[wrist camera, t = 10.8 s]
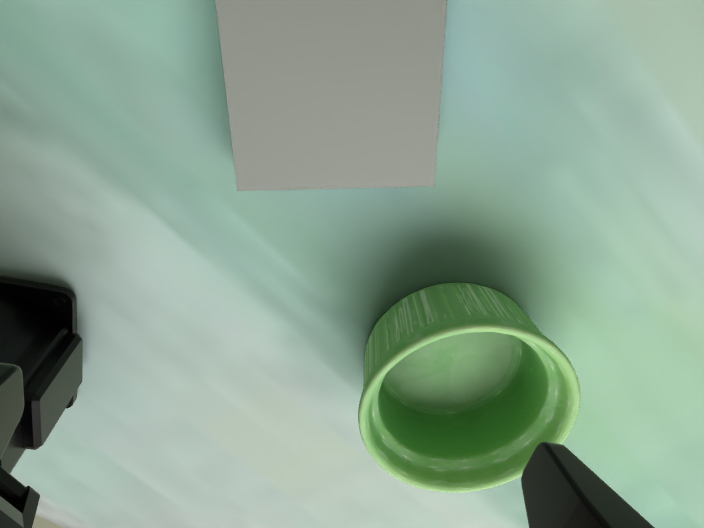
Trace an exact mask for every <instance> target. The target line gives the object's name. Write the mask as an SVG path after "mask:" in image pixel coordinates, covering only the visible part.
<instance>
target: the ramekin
mask: <svg viewBox="0 0 704 528" xmlns="http://www.w3.org/2000/svg"><path fill="white" fill-rule="evenodd" d="M579 406H580V387H579V382H578V378H577V376H576V373H575V370H574V368H573V366H572V364H571V363H570V361H569V360H568V358H567V357H566V356H565V354H564V353H563V352H562V351H561V350H560V349H559V348H558V347H557V346H556V345H555V344H554V343H553V342H552V341H551V340H549V339H548V338H547V337H545V336H544V335H542V333H541V332H540V331H539V330H538V328H537V327H536V326H535V325H534V323H533V322H532V321H531V320H530V318H529V317H528V316H527V315H526V314H525V312H524V311H523V310H522V309H521V308H520V307H519V306H518V305H517V304H516V303H515V302H514V301H512V300H511V299H510V298H509V297H507V296H506V295H504V294H502V293H501V292H499V291H496V290H494V289H491V288H489V287H485V286H481V285H476V284H472V283H445V284H438V285H433V286H429V287H426V288H423V289H421V290H418V291H416V292H414V293H412V294H409V295H408V296H406V297H404V298H402V299H401V300H400V301H398V302H397V303H396V304H395V305H393V306H392V307H391V308H390V309H389V310H388V311H387V312H386V313H385V314H384V315H383V316H382V317H381V318H380V319H379V321H378V322H377V323H376V325H375V326H374V328H373V330H372V332H371V334H370V337H369V339H368V342H367V346H366V350H365V356H364V389H363V392H362V395H361V399H360V404H359V411H358V422H359V429H360V434H361V437H362V440H363V442H364V445H365V447H366V449H367V450H368V452H369V453H370V455H371V456H372V457H373V459H374V460H375V461H376V462H377V463H378V464H379V465H380V466H381V467H382V468H383V469H384V470H385V471H386V472H387V473H389V474H391V475H392V476H394V477H395V478H397V479H399V480H401V481H403V482H405V483H407V484H410V485H412V486H415V487H419V488H422V489H427V490H432V491H439V492H470V491H477V490H483V489H487V488H491V487H495V486H498V485H501V484H504V483H507V482H509V481H512V480H514V479H516V478H518V477H520V476H522V473H523V470H524V468H525V466H526V464H527V463H528V461H529V459H530V457H531V455H532V453H533V452H534V450H535V448H536V446H537V445H538V444H539V443H541V442H551V443H558V444H562V443H563V442H564V440H565V439H566V437H567V436H568V434H569V433H570V431H571V429H572V426H573V425H574V423H575V420H576V418H577V414H578V410H579Z"/></svg>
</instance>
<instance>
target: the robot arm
mask: <svg viewBox="0 0 704 528" xmlns="http://www.w3.org/2000/svg"><path fill="white" fill-rule="evenodd" d="M58 297H62V298H64V299H65V300H66V302H63V301H61V300H60V299H59V298H58ZM81 382H82V338H81V337H80V335H79V334H77V306H76V295H75V294H74V292H73V291H71V290H70V289H68V288H65V287H61V286H55V285H49V284H43V283H37V282H31V281H25V280H19V279H13V278H7V277H1V276H0V528H32V525H33V521H34V517H35V513H36V510H37V506H38V502H39V498H40V495H39V494H38V493H37V492H36V491H35V490H33V489H32V488H31V487H30V486H27V487H25V486H24V485H23V484H22V483H20V482H19V481H18V480H17V479H15V478H14V477H13V476H12V475H11V474H10V473H11V471H12V470H13V468H14V467H15V465H16V463H17V462H18V460H19V459H20V457H21V456H22V454H23V453H24V451H25V450H26V449H33V450H36V449H38V448H39V447H40V446H42V445H43V444H44V442H45V441H46V439H47V437H48V436H49V434H50V433H51V431H52V429H53V428H54V426H55V424H56V423H57V421H58V420H59V418H60V416H61V415H62V413H63V411H64V410H65V408H69V407H71V406H72V405H73V403H74V402H75V400H76V398H77V389H78V387H79V385H80V384H81ZM521 483H522V490H523V496H524V501H525V507H526V512H527V518H528V523H529V528H654V527H653V526H652V525H651V524H650V523H649V522H648V521H647V520H645V519H644V518H643V517H642V516H641V515H640V514H639V513H638V512H637V511H636V510H634V509H633V508H632V507H631V506H630V505H629V504H628V503H627V502H626V501H625V500H623V499H622V498H621V497H620V496H619V495H618V494H617V493H616V492H615V491H614V490H612V489H611V488H610V487H609V486H608V485H607V484H606V483H605V482H604V481H603V480H601V479H600V478H599V477H598V476H597V475H596V474H595V473H594V472H593V471H592V470H590V469H589V468H588V467H587V466H586V465H585V464H584V463H583V462H582V461H581V460H579V459H578V458H577V457H576V456H575V455H574V454H573V453H572V452H571V451H570V450H568V449H567V448H566V447H565V446H564V445H561V444H558V443H551V442H541V443H539V444H538V445H537V446H536V448H535V450H534V452H533V453H532V455H531V457H530V459H529V461H528V463H527V464H526V466H525V468H524V470H523V473H522V478H521Z"/></svg>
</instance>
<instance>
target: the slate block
mask: <svg viewBox="0 0 704 528" xmlns="http://www.w3.org/2000/svg"><path fill="white" fill-rule="evenodd" d="M215 3H216V11H217V20H218V28H219V37H220V46H221V54H222V63H223V71H224V80H225V89H226V97H227V106H228V115H229V123H230V132H231V140H232V149H233V158H234V166H235V175H236V183H237V191H256V190H297V189H338V188H379V187H420V186H434V183H435V169H436V154H437V139H438V125H439V110H440V95H441V81H442V66H443V51H444V37H445V22H446V7H447V0H215Z"/></svg>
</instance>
